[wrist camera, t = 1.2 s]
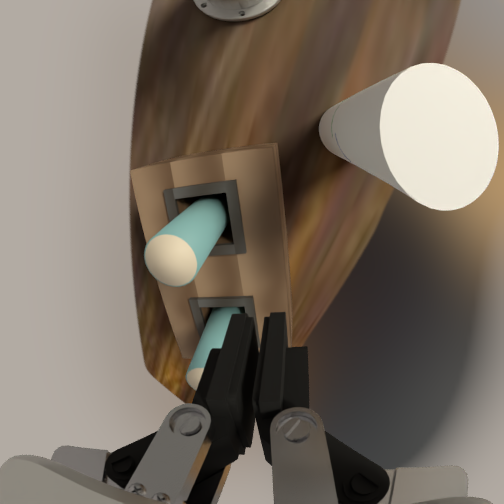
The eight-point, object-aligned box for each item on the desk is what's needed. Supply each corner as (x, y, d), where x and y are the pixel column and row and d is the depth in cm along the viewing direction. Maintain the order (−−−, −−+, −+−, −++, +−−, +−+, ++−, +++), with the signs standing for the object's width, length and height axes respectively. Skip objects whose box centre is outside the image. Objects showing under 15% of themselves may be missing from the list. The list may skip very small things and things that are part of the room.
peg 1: (192, 195, 29) (137, 236, 18) (229, 190, 29) (191, 230, 18) (198, 230, 31) (152, 287, 20) (234, 227, 30) (203, 286, 19)
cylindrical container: (331, 165, 35) (404, 229, 12) (310, 114, 32) (354, 79, 10) (380, 148, 33) (507, 188, 10) (360, 97, 30) (473, 56, 8)
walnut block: (205, 307, 46) (181, 360, 35) (174, 157, 37) (127, 171, 25) (292, 304, 44) (291, 362, 32) (277, 142, 34) (272, 147, 23)
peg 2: (212, 294, 34) (180, 366, 23) (245, 293, 33) (224, 368, 22) (218, 320, 35) (192, 394, 25) (249, 320, 35) (232, 396, 24)
